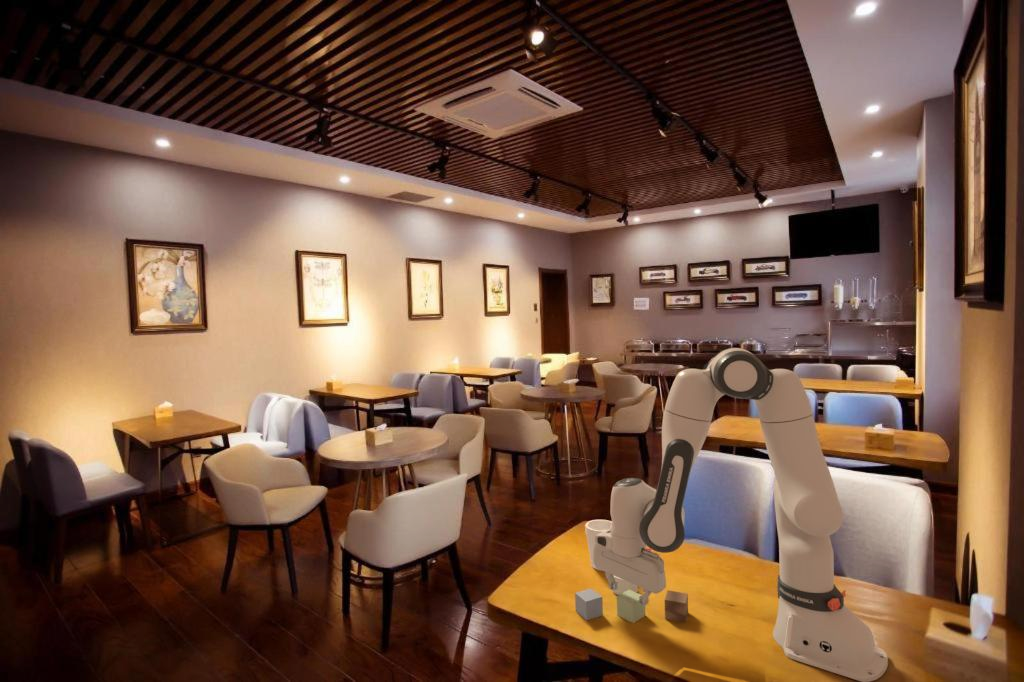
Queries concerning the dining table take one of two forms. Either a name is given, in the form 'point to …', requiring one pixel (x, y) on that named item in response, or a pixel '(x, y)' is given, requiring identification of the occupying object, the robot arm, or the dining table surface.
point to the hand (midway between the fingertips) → (628, 596)
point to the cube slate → (589, 604)
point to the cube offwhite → (624, 586)
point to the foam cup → (592, 530)
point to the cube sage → (630, 606)
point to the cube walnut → (676, 606)
